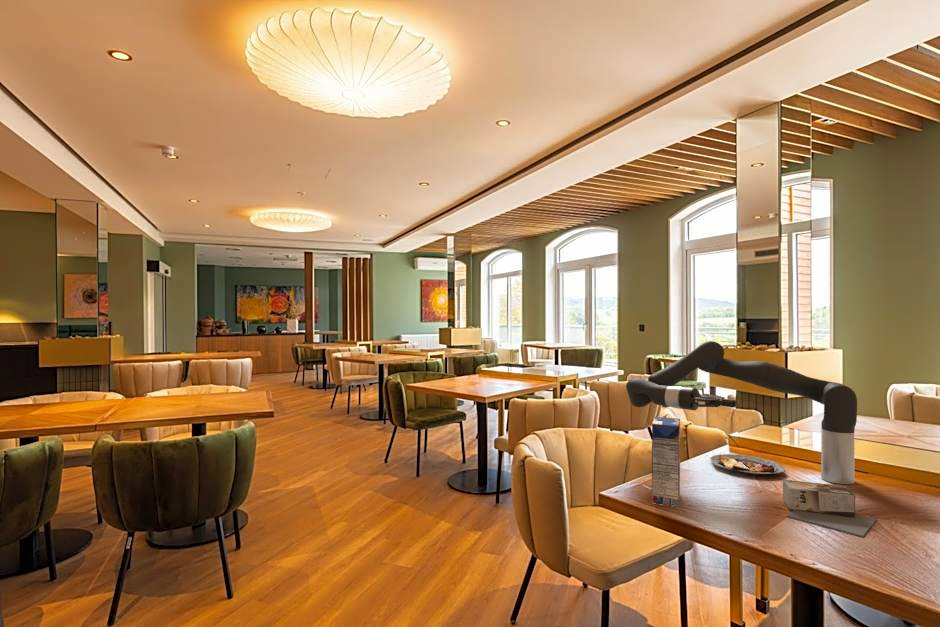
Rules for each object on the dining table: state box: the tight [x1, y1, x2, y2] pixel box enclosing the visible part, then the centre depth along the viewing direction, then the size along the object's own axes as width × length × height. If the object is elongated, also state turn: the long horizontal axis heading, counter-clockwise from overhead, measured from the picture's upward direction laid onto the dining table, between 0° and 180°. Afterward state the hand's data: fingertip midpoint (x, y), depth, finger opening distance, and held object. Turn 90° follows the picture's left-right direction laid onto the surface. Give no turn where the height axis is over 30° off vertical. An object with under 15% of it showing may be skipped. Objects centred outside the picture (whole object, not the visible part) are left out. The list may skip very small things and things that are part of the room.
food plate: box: [709, 453, 786, 476], centre depth 186 cm, size 25×23×4 cm
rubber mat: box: [786, 509, 877, 538], centre depth 140 cm, size 16×17×1 cm
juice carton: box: [651, 416, 681, 508], centre depth 154 cm, size 12×8×24 cm, turn 156°
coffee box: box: [782, 479, 856, 517], centre depth 147 cm, size 9×6×16 cm
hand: (735, 403), depth 159 cm, fingers closed
